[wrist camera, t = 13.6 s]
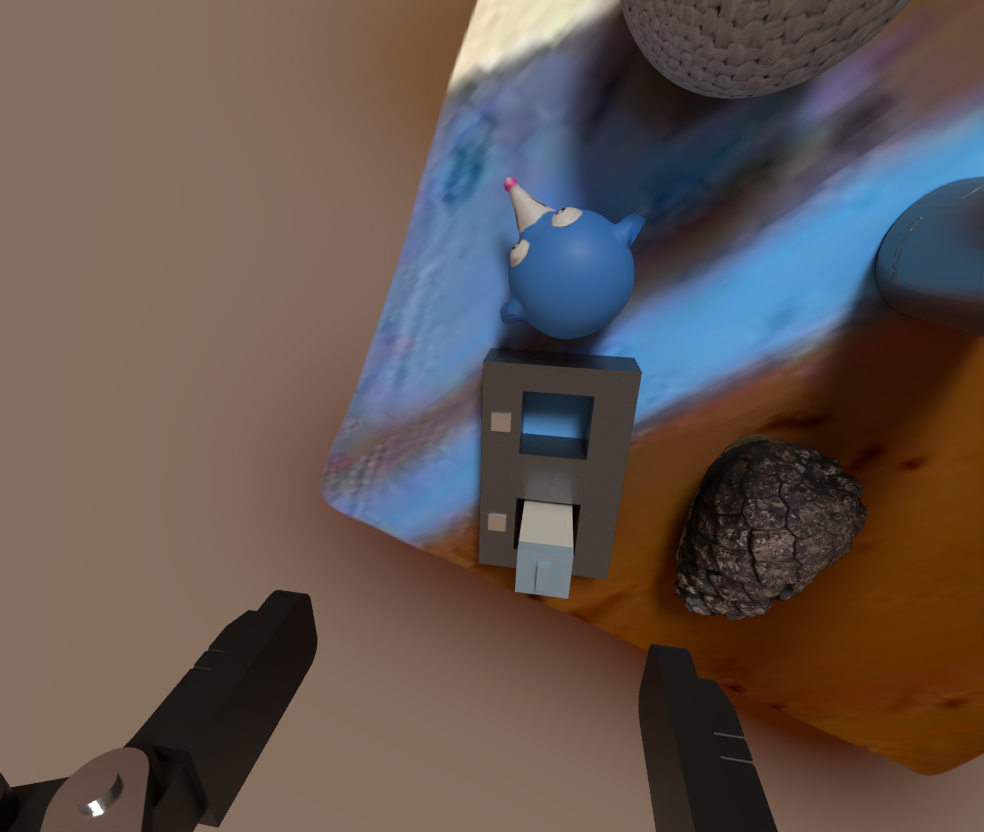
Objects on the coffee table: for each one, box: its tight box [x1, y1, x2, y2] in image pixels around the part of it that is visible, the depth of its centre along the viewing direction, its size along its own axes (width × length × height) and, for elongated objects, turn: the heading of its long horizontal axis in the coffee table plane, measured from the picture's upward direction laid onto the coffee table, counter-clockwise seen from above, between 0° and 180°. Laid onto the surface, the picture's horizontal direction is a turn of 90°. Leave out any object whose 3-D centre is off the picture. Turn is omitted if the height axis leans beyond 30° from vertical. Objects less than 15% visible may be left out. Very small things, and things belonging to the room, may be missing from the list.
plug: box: [515, 499, 573, 599], centre depth 39 cm, size 4×4×11 cm
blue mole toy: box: [500, 177, 646, 339], centre depth 31 cm, size 12×12×8 cm
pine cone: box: [673, 434, 867, 620], centre depth 37 cm, size 10×18×10 cm, turn 171°
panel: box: [479, 348, 642, 580], centre depth 40 cm, size 12×20×4 cm, turn 178°
